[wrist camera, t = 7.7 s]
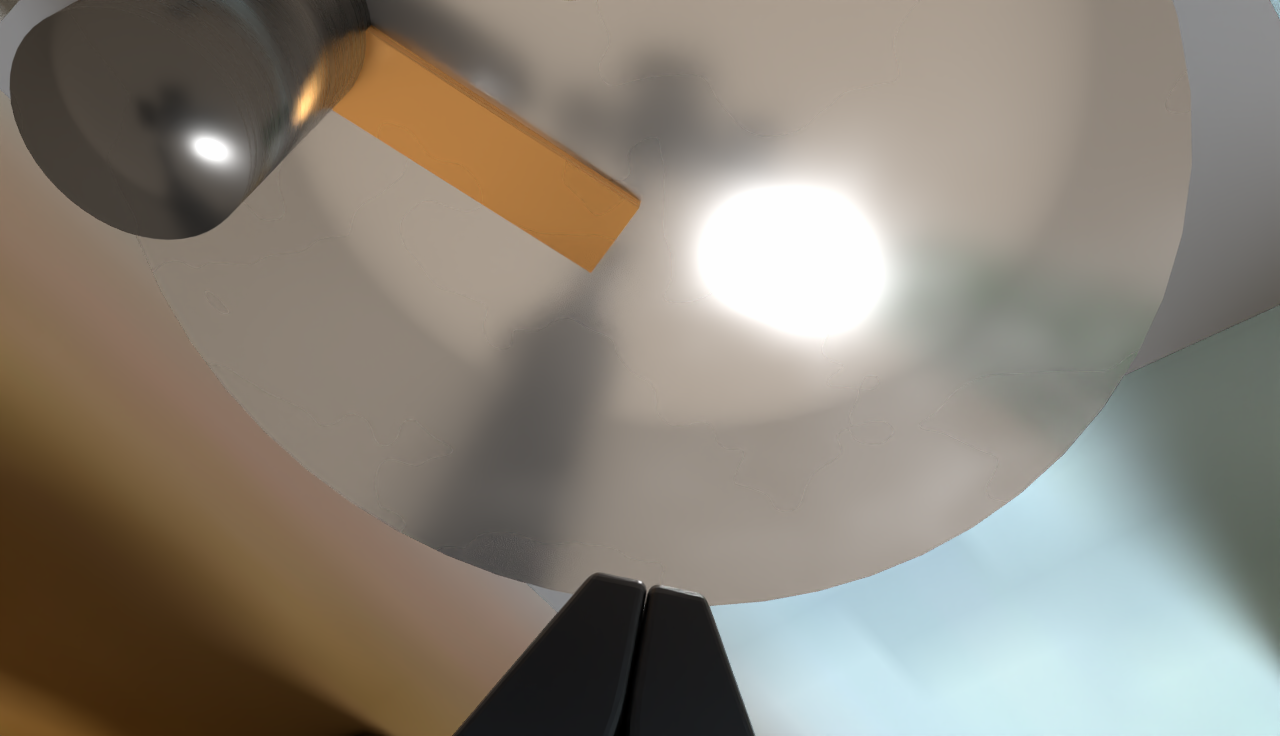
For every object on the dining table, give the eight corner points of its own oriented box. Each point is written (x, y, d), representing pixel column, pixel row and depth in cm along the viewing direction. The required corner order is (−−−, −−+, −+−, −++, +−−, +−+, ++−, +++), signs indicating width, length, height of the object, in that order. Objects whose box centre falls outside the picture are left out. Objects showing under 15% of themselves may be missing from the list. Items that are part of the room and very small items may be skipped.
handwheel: (962, -744, 10) (1034, -944, 6) (1268, 424, 16) (1397, 681, 13) (-57, -53, 15) (-359, 71, 11) (480, 626, 22) (402, 850, 18)
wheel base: (585, 574, 25) (560, 671, 22) (23, 28, 19) (-83, 87, 17) (1357, 205, 17) (1430, 295, 15) (816, -864, 12) (810, -964, 9)
